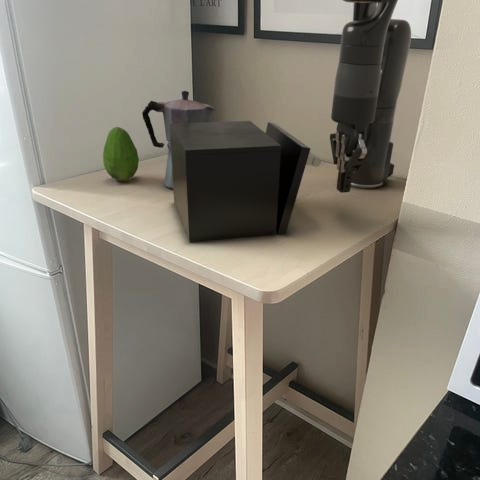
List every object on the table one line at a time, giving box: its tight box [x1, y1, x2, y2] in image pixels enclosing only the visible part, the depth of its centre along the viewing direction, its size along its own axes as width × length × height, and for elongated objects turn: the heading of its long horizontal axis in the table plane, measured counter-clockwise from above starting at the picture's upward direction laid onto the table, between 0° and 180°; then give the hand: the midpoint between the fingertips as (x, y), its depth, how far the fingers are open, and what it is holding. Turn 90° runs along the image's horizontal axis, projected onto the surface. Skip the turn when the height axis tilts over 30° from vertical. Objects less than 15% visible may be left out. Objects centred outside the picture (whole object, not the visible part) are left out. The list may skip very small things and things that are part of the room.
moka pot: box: [141, 90, 216, 190], centre depth 108 cm, size 10×15×20 cm, turn 107°
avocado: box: [102, 126, 140, 182], centre depth 113 cm, size 8×8×12 cm
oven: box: [170, 120, 281, 244], centre depth 93 cm, size 16×20×16 cm
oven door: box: [265, 121, 322, 236], centre depth 96 cm, size 5×20×16 cm, turn 14°
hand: (342, 191), depth 95 cm, fingers closed
